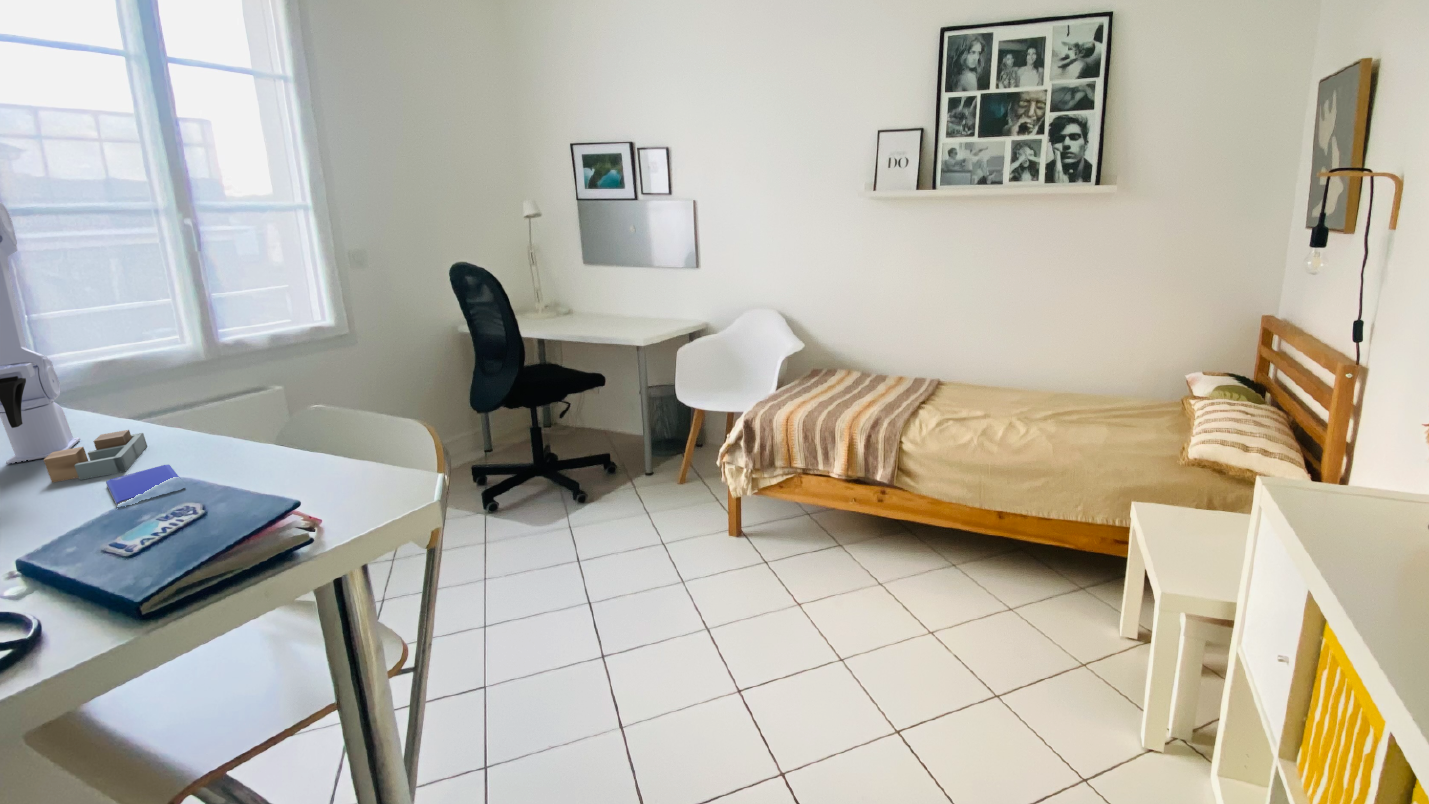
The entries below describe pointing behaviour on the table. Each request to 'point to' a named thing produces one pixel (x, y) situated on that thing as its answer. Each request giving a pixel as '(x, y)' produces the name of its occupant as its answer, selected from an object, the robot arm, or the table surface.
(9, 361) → the robot arm
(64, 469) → the block
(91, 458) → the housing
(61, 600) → the table surface
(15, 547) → the table surface
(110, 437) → the seated block
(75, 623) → the table surface
